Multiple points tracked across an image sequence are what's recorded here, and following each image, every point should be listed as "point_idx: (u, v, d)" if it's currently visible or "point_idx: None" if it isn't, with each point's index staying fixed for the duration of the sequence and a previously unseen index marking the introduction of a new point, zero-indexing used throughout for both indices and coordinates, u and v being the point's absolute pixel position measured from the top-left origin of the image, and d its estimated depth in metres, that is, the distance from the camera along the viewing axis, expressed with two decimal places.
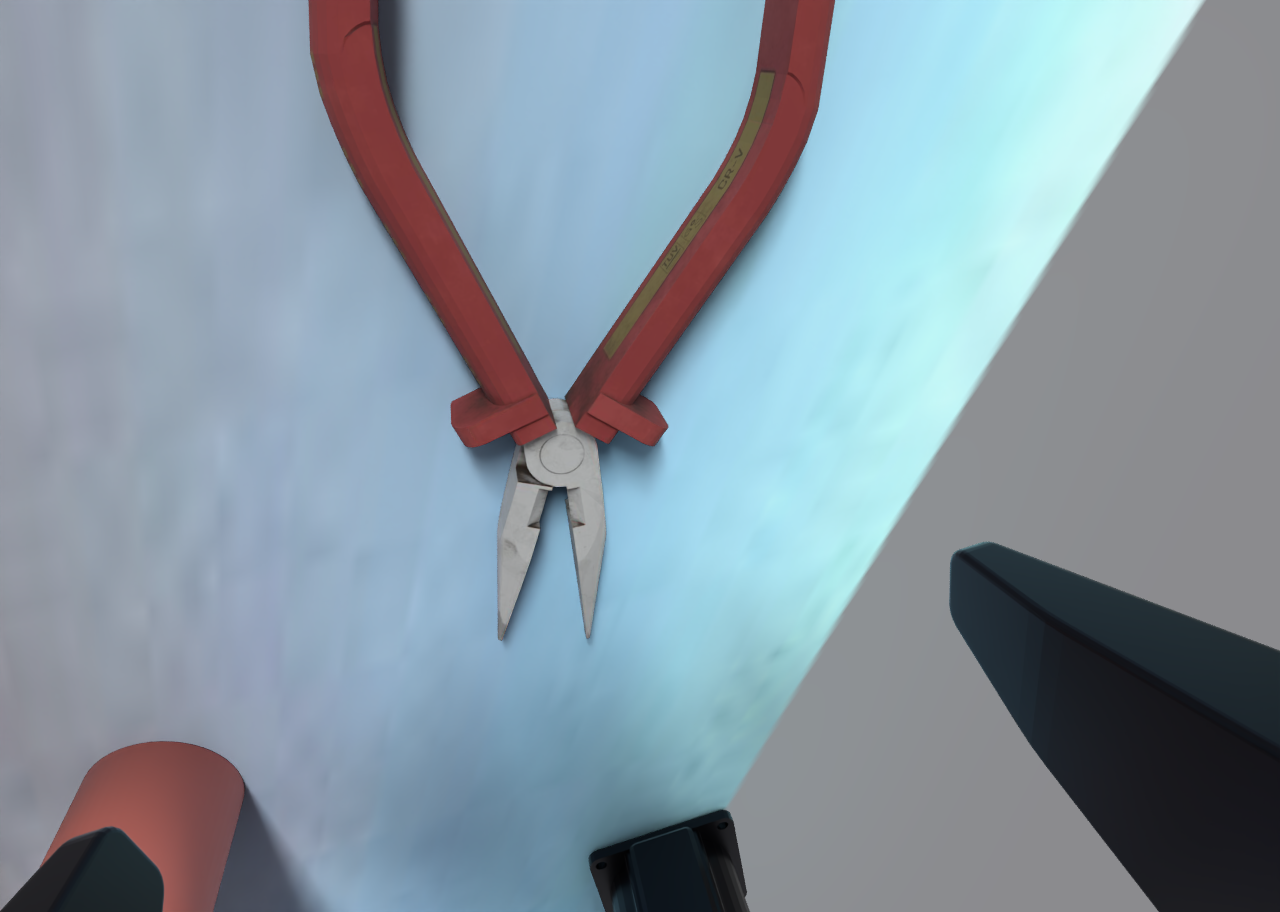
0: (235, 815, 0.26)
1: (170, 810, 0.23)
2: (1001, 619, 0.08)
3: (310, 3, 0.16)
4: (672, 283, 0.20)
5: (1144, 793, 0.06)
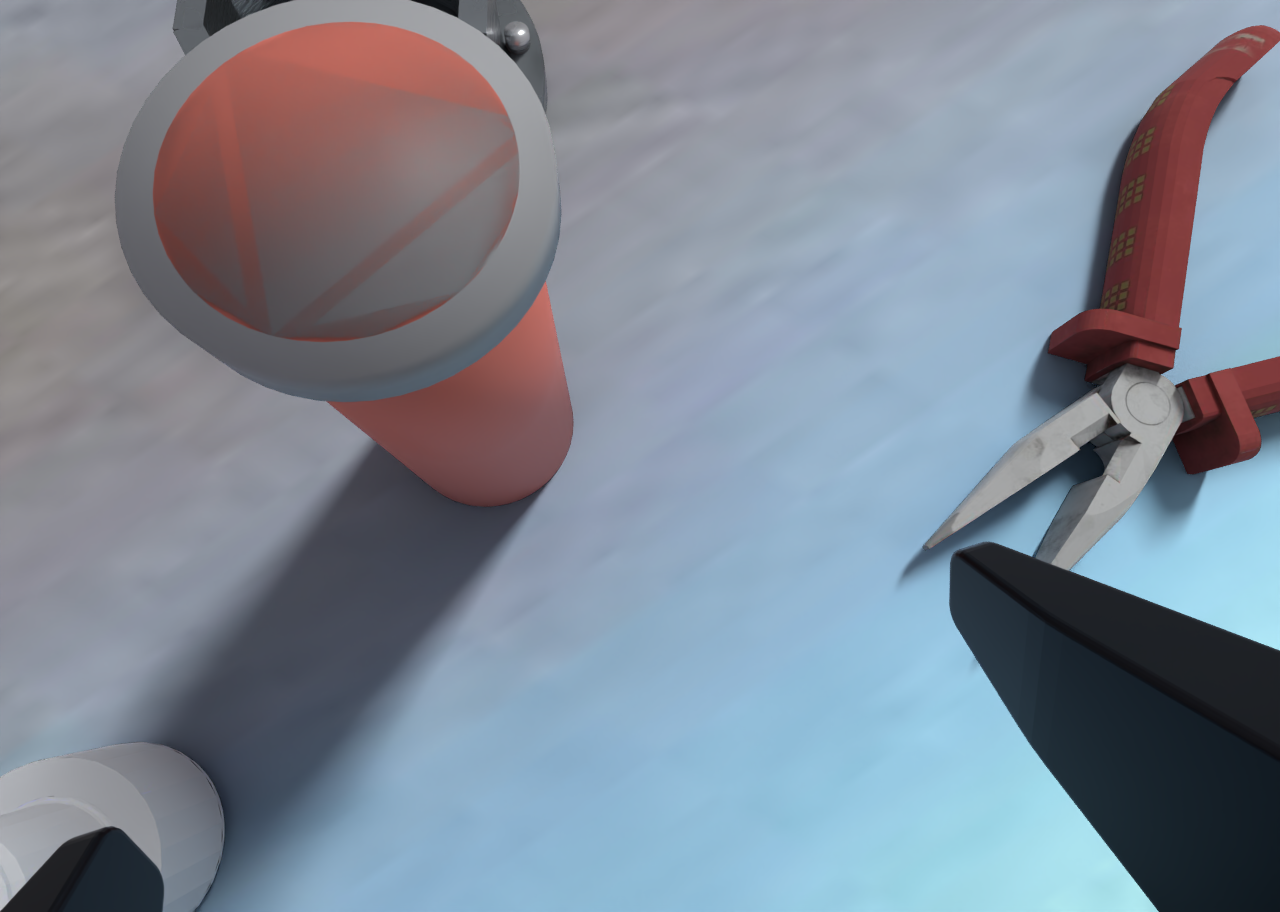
0: (541, 474, 0.21)
1: None
2: (1001, 619, 0.08)
3: (1191, 69, 0.25)
4: None
5: (1144, 793, 0.06)
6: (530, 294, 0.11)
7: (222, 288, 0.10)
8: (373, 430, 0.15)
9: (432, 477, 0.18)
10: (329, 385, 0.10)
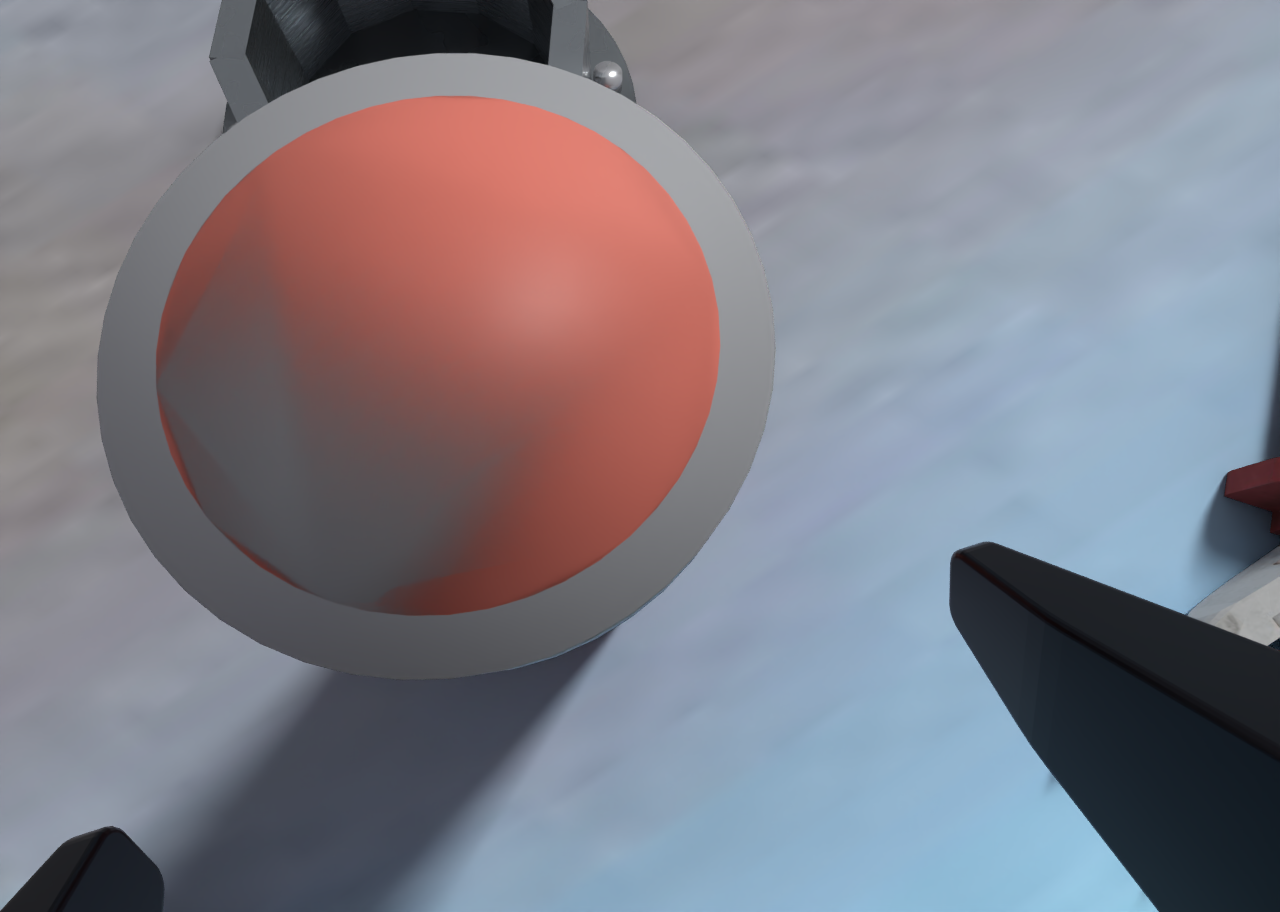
0: None
1: None
2: (1001, 619, 0.08)
3: None
4: None
5: (1145, 793, 0.06)
6: None
7: (254, 515, 0.06)
8: None
9: None
10: None
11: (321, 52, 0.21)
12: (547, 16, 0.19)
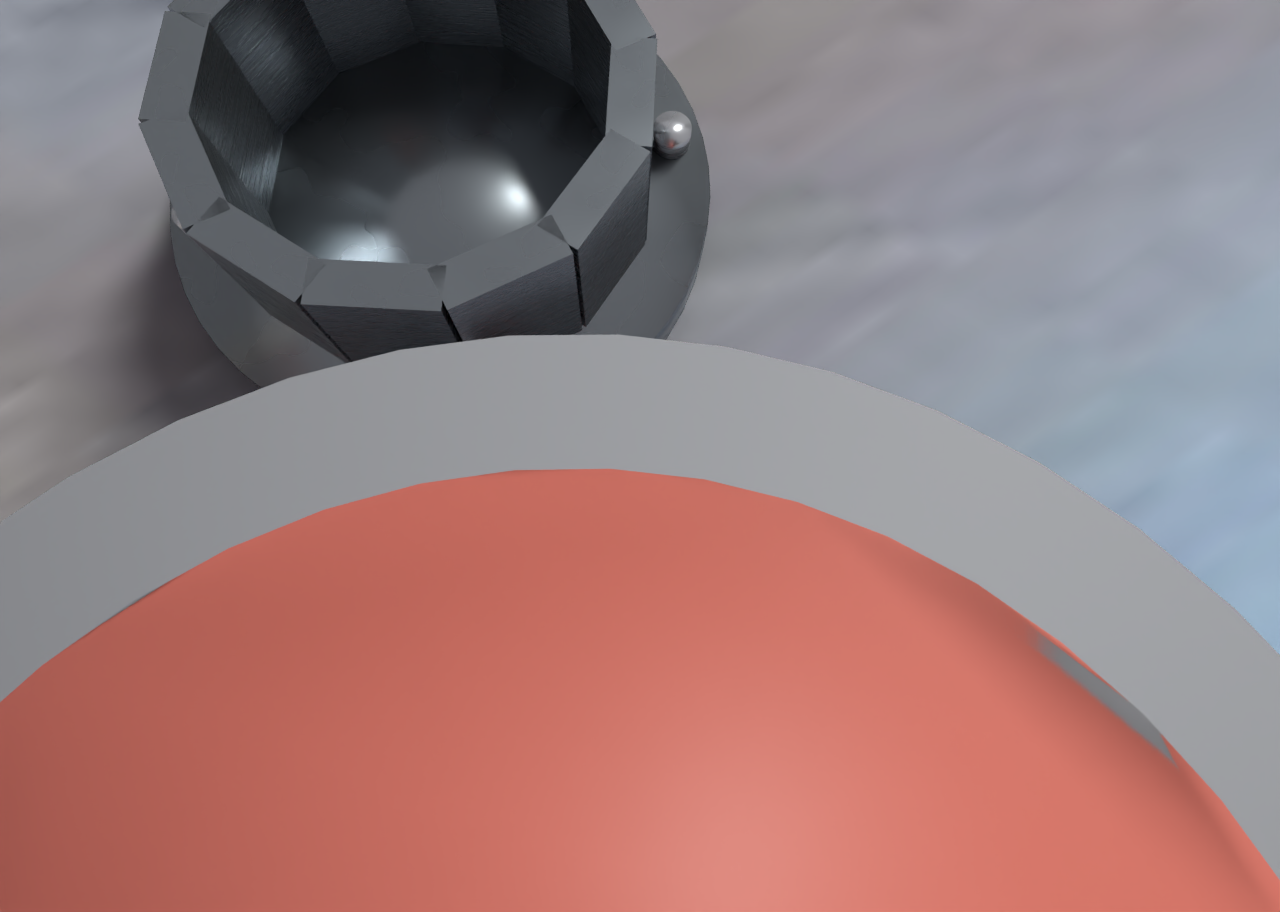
0: None
1: None
2: None
3: None
4: None
5: None
6: None
7: None
8: None
9: None
10: None
11: (299, 99, 0.16)
12: (599, 58, 0.14)
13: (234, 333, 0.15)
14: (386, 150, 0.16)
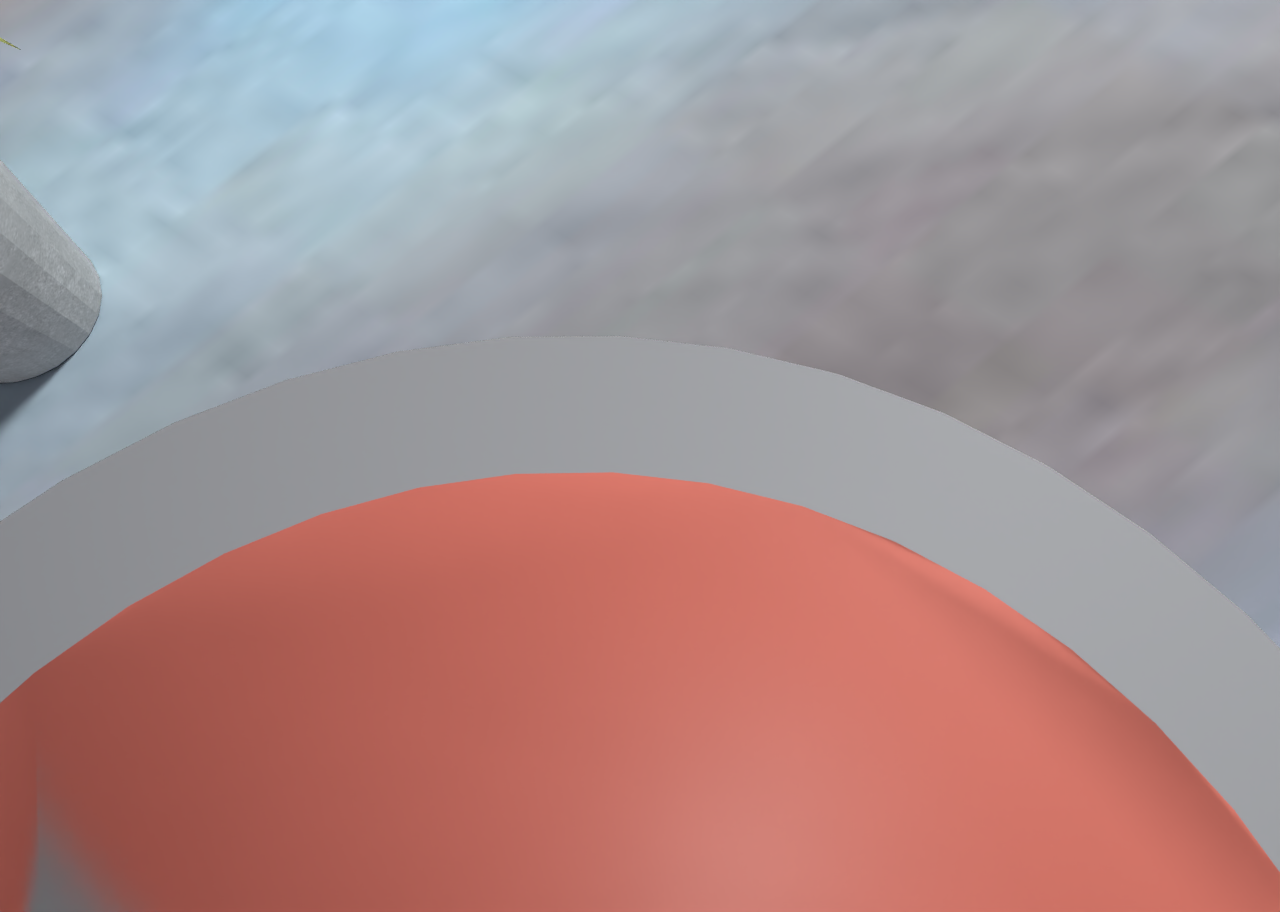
0: None
1: None
2: None
3: None
4: None
5: None
6: None
7: None
8: None
9: None
10: None
11: None
12: None
13: None
14: None
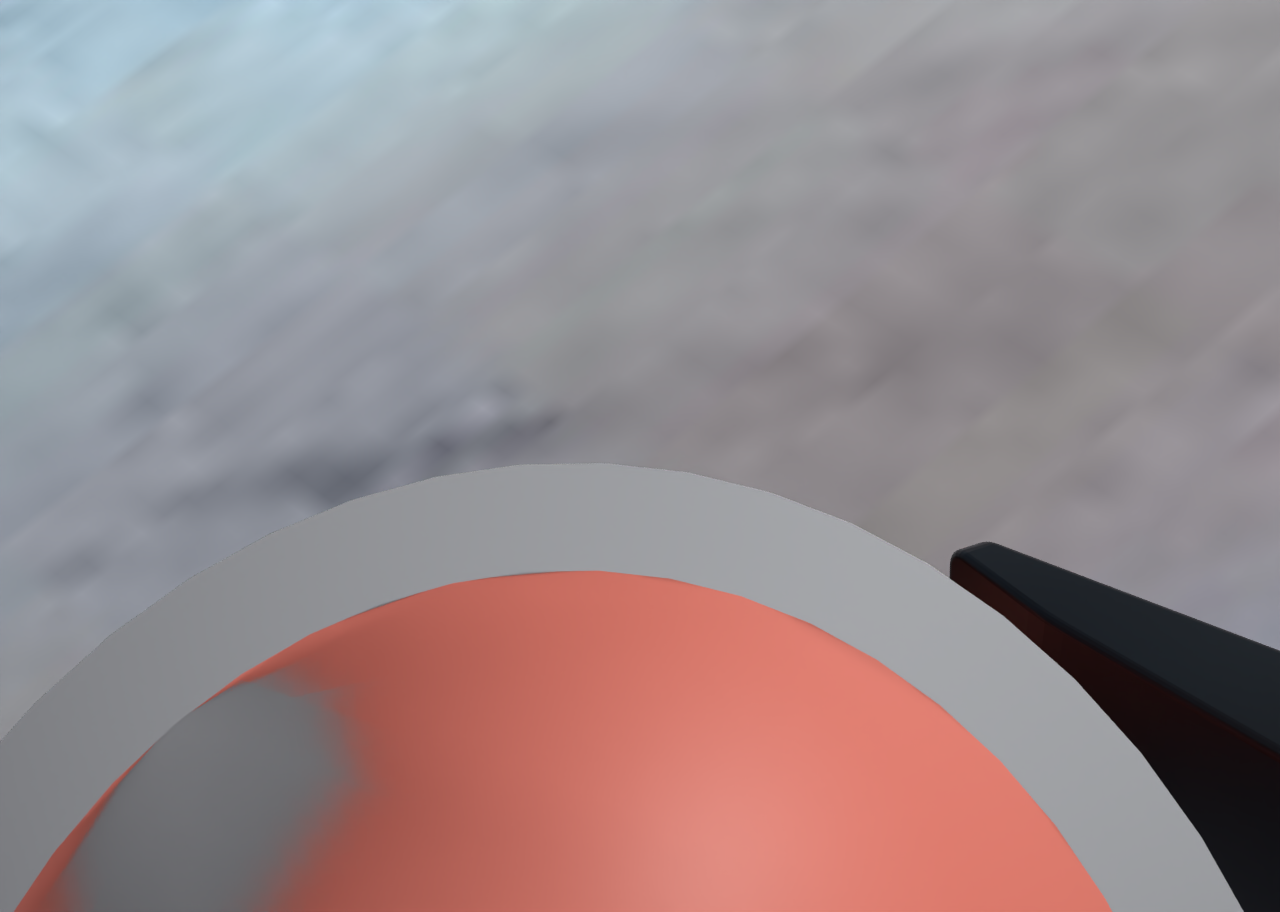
0: None
1: None
2: None
3: None
4: None
5: None
6: None
7: None
8: None
9: None
10: None
11: None
12: None
13: None
14: None
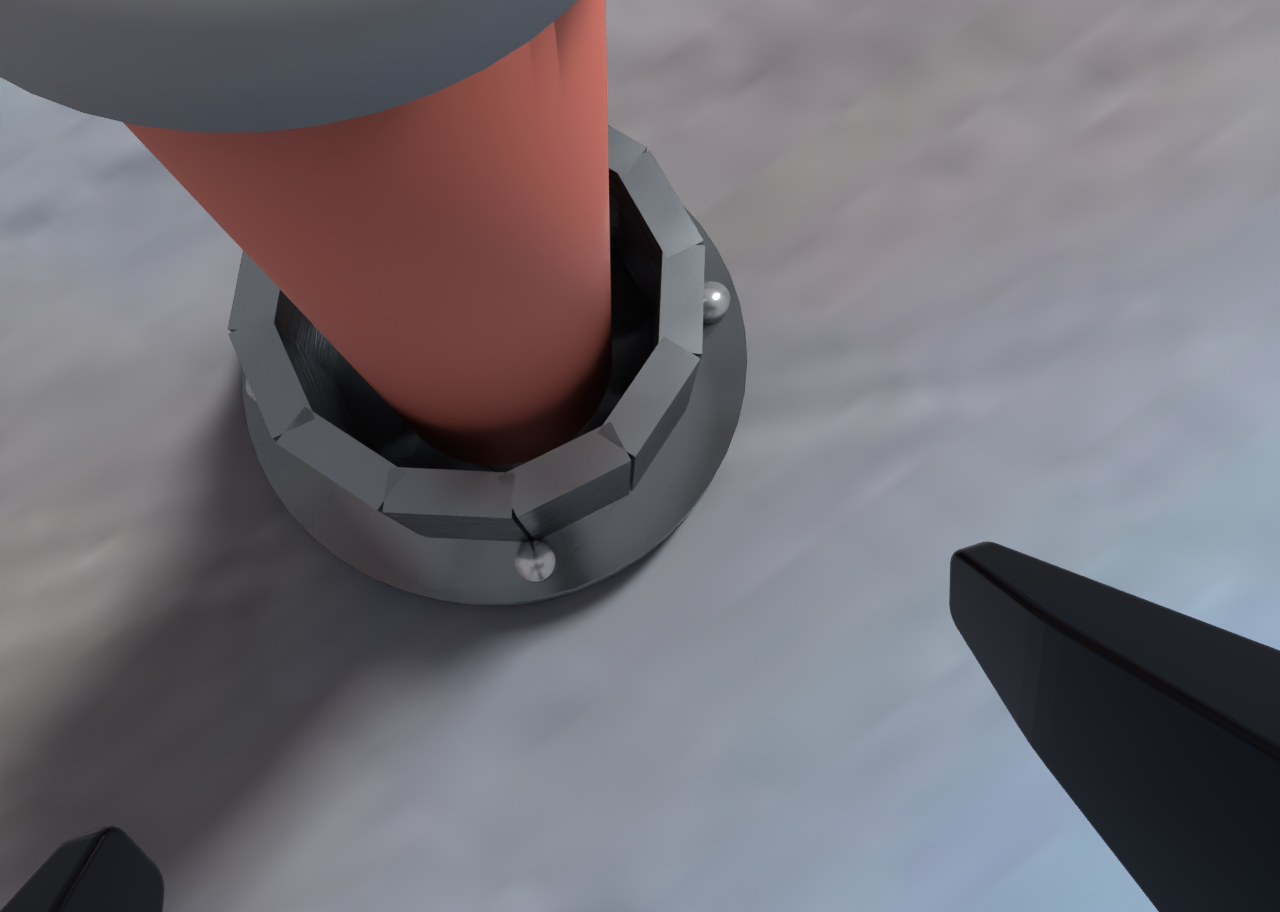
0: (567, 422, 0.15)
1: None
2: (1001, 619, 0.08)
3: None
4: None
5: (1144, 793, 0.06)
6: None
7: None
8: (310, 296, 0.09)
9: (414, 407, 0.13)
10: (139, 51, 0.04)
11: None
12: (648, 251, 0.15)
13: (305, 499, 0.16)
14: None
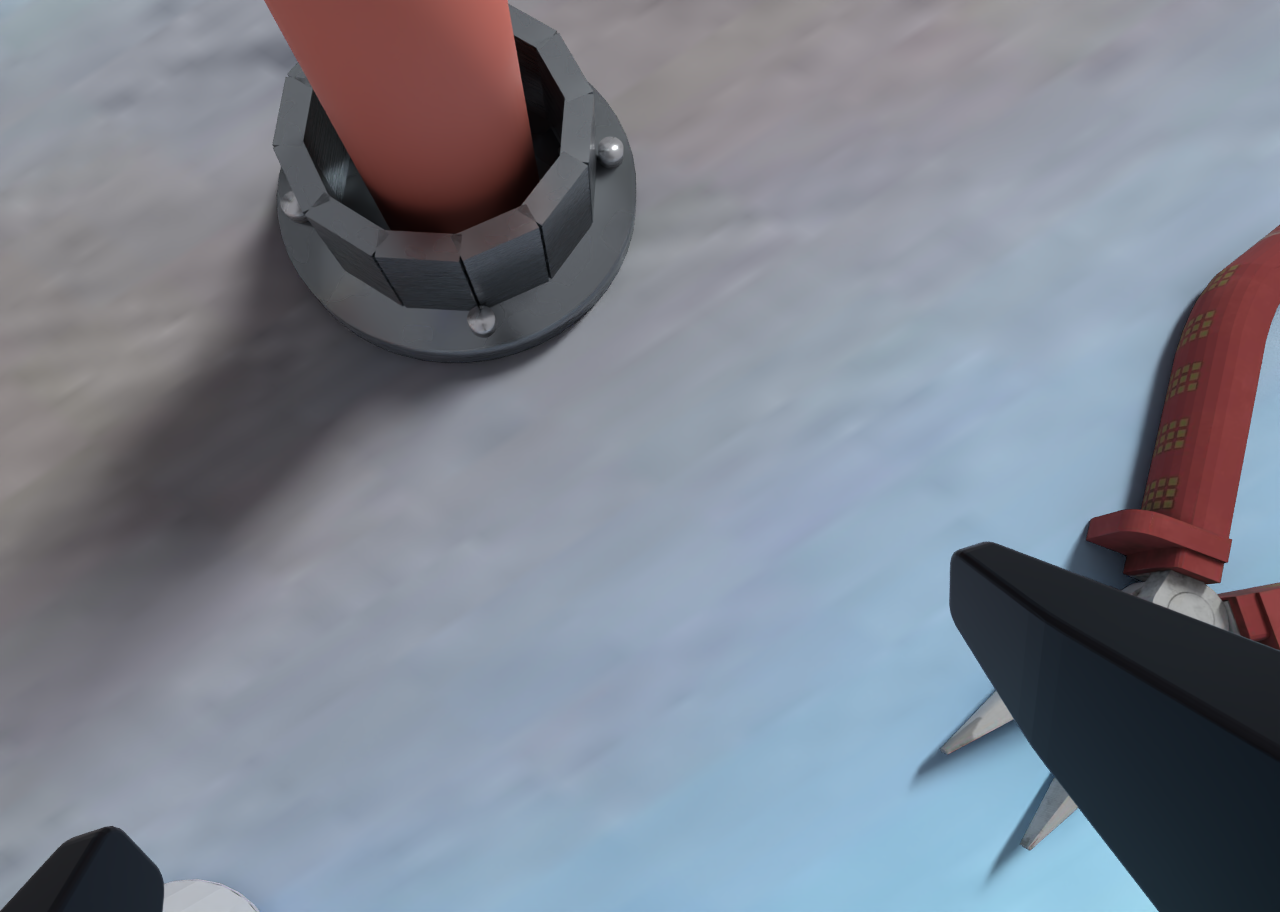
0: None
1: (528, 120, 0.21)
2: (1001, 619, 0.08)
3: (1256, 249, 0.24)
4: None
5: (1144, 793, 0.06)
6: None
7: None
8: (330, 67, 0.16)
9: (394, 186, 0.20)
10: None
11: None
12: (559, 104, 0.22)
13: (321, 282, 0.23)
14: None
